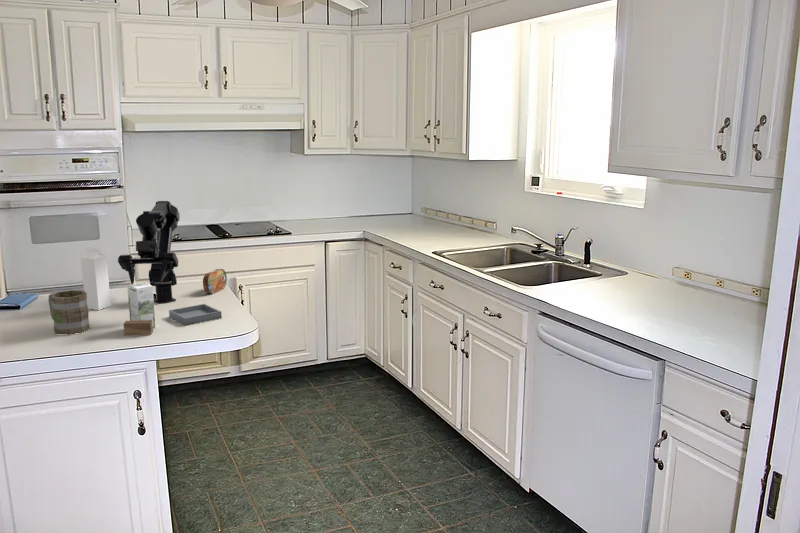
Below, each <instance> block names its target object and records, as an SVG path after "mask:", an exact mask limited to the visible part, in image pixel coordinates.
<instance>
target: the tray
mask: <svg viewBox="0 0 800 533" xmlns="http://www.w3.org/2000/svg"><path fill="white" fill-rule="evenodd" d="M168 315H169V318H170V319H172V320H174V321H175V322H177V323H179V324H182V325H183V326H186V325H187V326H191V324H192V325H195V323H197V324H201V323H200V322H202V323H206V322H205V321H207V322H211V321H210V320H212V321H216V320H215V319H217V320H220V319H219V318H223V317H222V311H221V310H219V309H217V308H215V307H212V306H211V305H208V304H206V303H202V304H197V305H196V304H195V305H191V306H185V307H180V308H179V307H178V308H174V309H169V310H168Z"/></svg>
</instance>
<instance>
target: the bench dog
mask: <svg viewBox="0 0 800 533" xmlns="http://www.w3.org/2000/svg"><path fill="white" fill-rule="evenodd" d="M153 332H154V328H153V325H152V320H138V321H130V320H125V321H124V322H123V333H124V335H123V336H125V337H131V336H132V337H133V336H152V334H153Z"/></svg>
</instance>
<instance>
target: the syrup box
mask: <svg viewBox="0 0 800 533" xmlns="http://www.w3.org/2000/svg"><path fill="white" fill-rule="evenodd" d="M127 295H128V296H127V297H128V310H129V321H138V320H152V325H153V329H154V328H156V316H155V314H156V313H155V301H154V299H155V298H154V286H152V285H150V283H147V282H141V283H136V284H131V285H128V286H127Z"/></svg>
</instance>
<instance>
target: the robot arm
mask: <svg viewBox="0 0 800 533" xmlns="http://www.w3.org/2000/svg"><path fill="white" fill-rule="evenodd" d="M180 218H181V217H180V211H179V210H178V207H176V206H175V205H173V204H171V201H169V200H158V201H155V205H154V206H153V208H152V209H151V210H147V211H145V210H144V211H143V212H142V213H141V214H140V215H138V216H137V218H136V219H135V222H136V225H137V227H138V230H139V233H140V234H141V235H142V238H141V239H142V240H135V252H137V255H138V257H133V255H132V254H120V255H119V256H118V258H117V262H118V264H119V266H120V268H121V269H122V270H123V271H125V272H128V276H129V279H130V283H131V285H134V282H135V275H136V269H135V268H136V267H135V266H136V265H141V264H142V265H143V264H144V265H145V264H148V265H149V264H150V269H149V271H148V280H149V284H150V285H152V286H153V287H155V297H156V298H154V302H156V303H158V304H164V303H169V302H175V301H176V300H177V299H176V298H174V297H173V289H172V288H173V287H174V286H175V285H177V284H178V283H177V276H176V273H175V271H174V270H175V268H177V267H179V259H178V256H177V254H176V253H175V252H171V249H172V239H173V238H172V237H173V232H174V231H175V229H177V228H178V223H179V222H180ZM172 286H173V287H172ZM176 302H177V301H176Z"/></svg>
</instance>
